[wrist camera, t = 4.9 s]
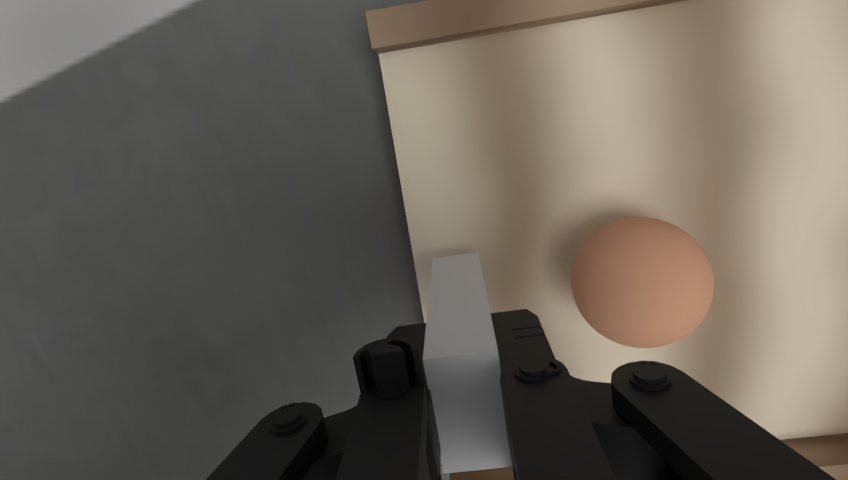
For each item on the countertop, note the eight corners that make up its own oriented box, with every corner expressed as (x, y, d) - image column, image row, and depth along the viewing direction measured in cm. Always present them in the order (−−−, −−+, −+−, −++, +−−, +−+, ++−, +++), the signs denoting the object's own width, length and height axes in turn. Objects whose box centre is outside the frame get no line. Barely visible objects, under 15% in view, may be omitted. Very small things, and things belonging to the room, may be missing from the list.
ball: (563, 321, 18) (596, 381, 14) (553, 214, 17) (586, 247, 13) (677, 307, 17) (743, 365, 14) (674, 197, 16) (745, 226, 13)
